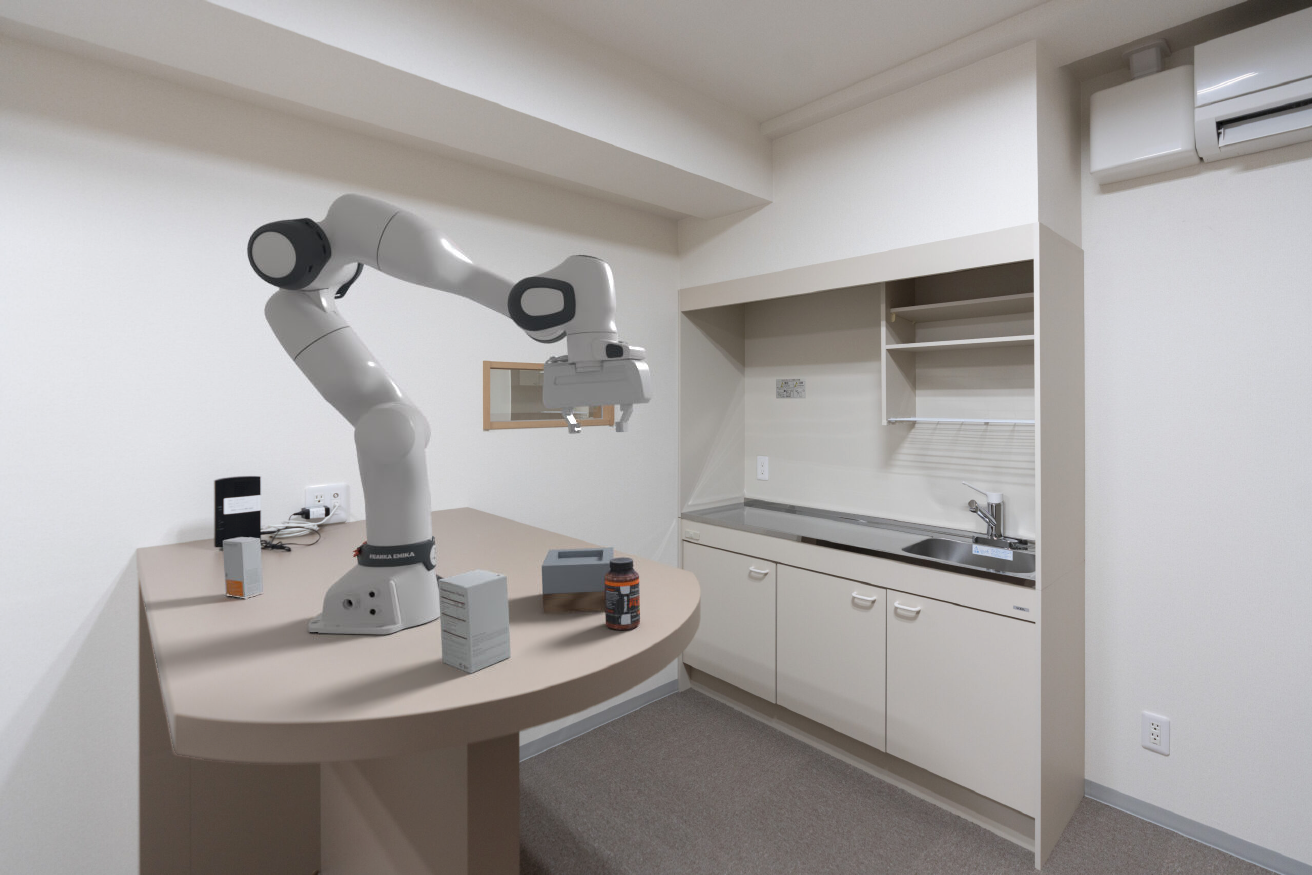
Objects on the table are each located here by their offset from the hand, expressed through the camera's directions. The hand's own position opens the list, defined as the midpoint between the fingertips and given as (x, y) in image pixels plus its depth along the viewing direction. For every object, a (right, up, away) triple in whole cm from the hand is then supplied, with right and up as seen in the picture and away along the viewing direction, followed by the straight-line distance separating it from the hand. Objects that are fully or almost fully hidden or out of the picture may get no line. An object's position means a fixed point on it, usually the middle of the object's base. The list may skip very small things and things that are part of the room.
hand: (597, 432), depth 108 cm
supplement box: (-17, -34, -15) cm, 41 cm away
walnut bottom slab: (-4, -33, +13) cm, 36 cm away
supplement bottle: (+4, -33, -1) cm, 33 cm away
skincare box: (-76, -34, +23) cm, 87 cm away
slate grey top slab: (-5, -29, +13) cm, 32 cm away
